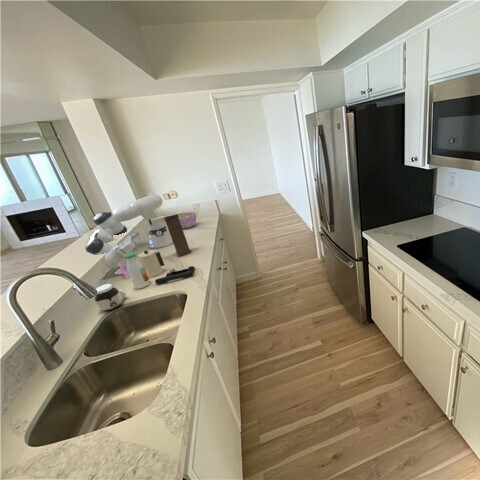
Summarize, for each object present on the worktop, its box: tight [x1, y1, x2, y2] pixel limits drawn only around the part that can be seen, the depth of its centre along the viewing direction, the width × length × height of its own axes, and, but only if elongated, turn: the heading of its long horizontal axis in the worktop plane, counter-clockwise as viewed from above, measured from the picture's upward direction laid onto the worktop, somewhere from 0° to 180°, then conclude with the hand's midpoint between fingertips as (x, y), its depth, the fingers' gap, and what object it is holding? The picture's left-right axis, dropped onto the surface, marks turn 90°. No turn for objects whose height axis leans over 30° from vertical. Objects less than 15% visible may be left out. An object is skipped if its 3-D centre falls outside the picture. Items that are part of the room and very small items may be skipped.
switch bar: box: [148, 210, 186, 225], centre depth 179 cm, size 3×22×3 cm, turn 125°
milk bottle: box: [124, 252, 151, 290], centre depth 149 cm, size 8×8×20 cm
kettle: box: [136, 249, 165, 278], centre depth 162 cm, size 14×9×16 cm, turn 125°
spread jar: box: [94, 283, 127, 312], centre depth 135 cm, size 12×11×12 cm
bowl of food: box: [179, 211, 197, 230], centre depth 246 cm, size 20×20×12 cm
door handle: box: [154, 265, 195, 285], centre depth 159 cm, size 3×20×16 cm
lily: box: [114, 259, 130, 279], centre depth 166 cm, size 12×12×10 cm
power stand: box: [164, 212, 191, 258], centre depth 185 cm, size 10×8×29 cm
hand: (138, 234), depth 172 cm, fingers open, 8 cm apart
